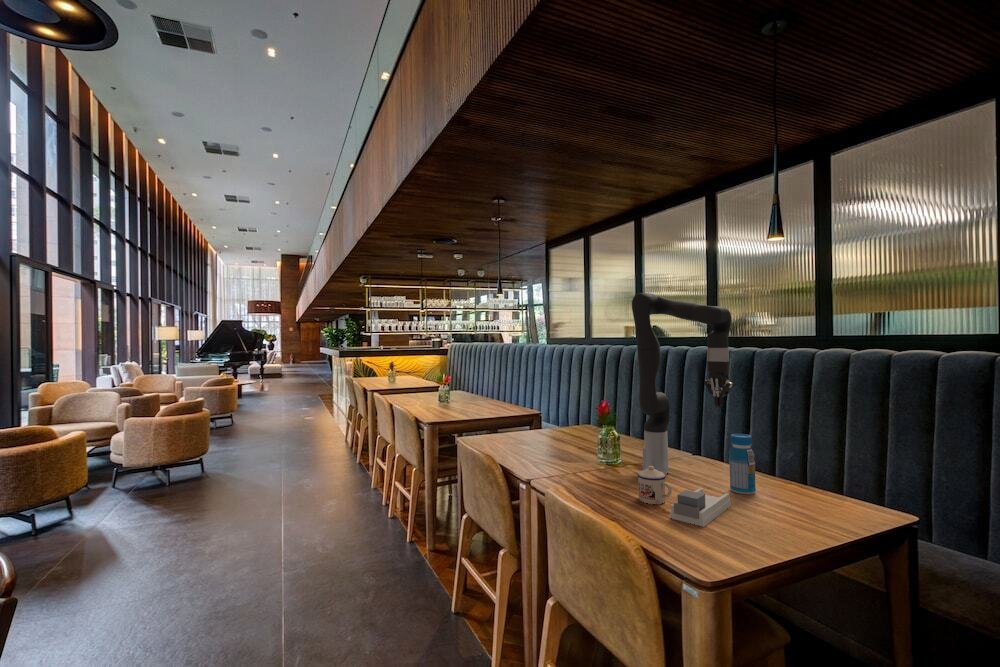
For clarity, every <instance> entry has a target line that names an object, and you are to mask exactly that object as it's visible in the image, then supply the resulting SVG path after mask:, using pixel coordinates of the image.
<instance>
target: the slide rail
mask: <svg viewBox="0 0 1000 667" xmlns="http://www.w3.org/2000/svg"><path fill="white" fill-rule="evenodd" d="M693 492H698V493H703V494H704V488H703V487H699V488H698V489H695V490H694V491H693ZM731 504H732V503H731V500H730V493H727V492H725V493H724V494H723V495H721V496H720V497H717V496H713V495H709V494H705V508H704V509H702V510H701V511H700V512H699V508H698V507H693V506H689V505H685V504H681V503H678V500H677V501H675V502H674V503H672V504H670V511H669V514H670V517H669V518H670V519H671V518H672V519H671V520H676V521H680V522H683V523H688V524H690V523H691V524H690V525H694V524H695V526H698V525H699V527H701V528H702V527H703V528H705V527H706V526H707V525H708V524H709V523H711V522H712V521H713V520H715V519H716V518H717V517H719V516H721V514H723V513H724V512H725V511H726V509H727V508H728V509H729V508H731V506H732V505H731ZM728 509H727V510H728Z"/></svg>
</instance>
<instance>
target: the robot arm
mask: <svg viewBox="0 0 1000 667" xmlns="http://www.w3.org/2000/svg"><path fill="white" fill-rule="evenodd" d="M631 311H632V316H633V320H634V326H635V328H634V329H635V337H636V347H637V348H636V350H637V361H638V374H639V392H638V394H639V399H638V400H639V407H640V410H641V412H642V413H643V414H644V415H646V416H648V420H647V421H646V422H645V423H644V425H643V431H644V432H643V433H644V434H643V435H644V441H643V442H644V447H643V448H642V468H643V469H642V471H643V470H645V469H648V466H654V469H656V470H658V471H660V472H662V473H664V474H665V475H667V473H668V472H669V444H668V443H669V442H668V441H669V440H668V438H669V437H668V427H669V424H670V401H669V400H670V399H669V398H668V396H667V395H666V394H665V393H664V392H661V391H657V388H656V387H657V386H656V379H657V375H658V373H659V370H660V367H661V362H662V354H661V345H660V341H659V339H658V337H657V336H656V334H655V332H654V330H653V328H652V324H651V323H652V322H651V317H650V316H652V315H665V316H667V315H668V316H672V317H675V318H677V319H681V320H685V321H690V322H697V323H702V324H705V325H709V326H712V329H711V331H710V332H709V333H708V334H707V338H706V340H707V344H706V345H707V352H706V366H707V367H706V372H707V373H708V377H707V379H706V380H703V383H704V385H705V388H706V389H707V391H708V393H709V394H710V395H712V396H713V399H714V400H713V401H714V407H716V408H722V407H724V397H726V396H728V395H729V394H730V392H731V391H732V389H733V388H734V386H735V383H734V382H731V381H730V378H729V373H730V351H729V334H730V329H731V326H732V325H731V324H732V314H731V311H730V310H729V309H728V308H727V307H725V306H718V305H717V306H715V305H707V304H701V303H696V302H691V301H681V300H680V301H679V300H673V299H672V300H671V299H667V298H664V297H661V296H658V295H655V294H653V293H650V292H649V293H647V292H639V293H636V294H635V295H634V296H633V297H632V300H631ZM668 474H669V473H668Z"/></svg>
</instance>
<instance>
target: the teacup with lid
mask: <svg viewBox="0 0 1000 667" xmlns="http://www.w3.org/2000/svg"><path fill="white" fill-rule="evenodd" d="M637 478H638V481H637V482H638V500H639V501H640V502H641V501H642V502H641V503H643V502H644V504H646V503H648V504H647V505H653V504H658V505H662V503H663V504H665V503H666V499H667V498H669V497H671V494H672V492H673V490H672V486H671V484H669V483H668V482H666V474H664V473H662V472H660V471H658V470H656V469H654V466H648V469H645V470H643V469H642V470H640V471H638V473H637ZM666 487H667V490H668V492H667V494H666ZM664 502H665V503H664Z"/></svg>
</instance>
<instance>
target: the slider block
mask: <svg viewBox="0 0 1000 667" xmlns="http://www.w3.org/2000/svg"><path fill="white" fill-rule="evenodd" d="M705 495H706V493H704V492H703V493H698V492H694V491H693V490H688V489H685V490H682V491H681V492H679V493H677V495H676V496H677V498H676V499H677V501H678V503H681V504H685V505H689V506H693V507H698V508H699V512H700V511H701V510H702V509H704V508H705Z"/></svg>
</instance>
